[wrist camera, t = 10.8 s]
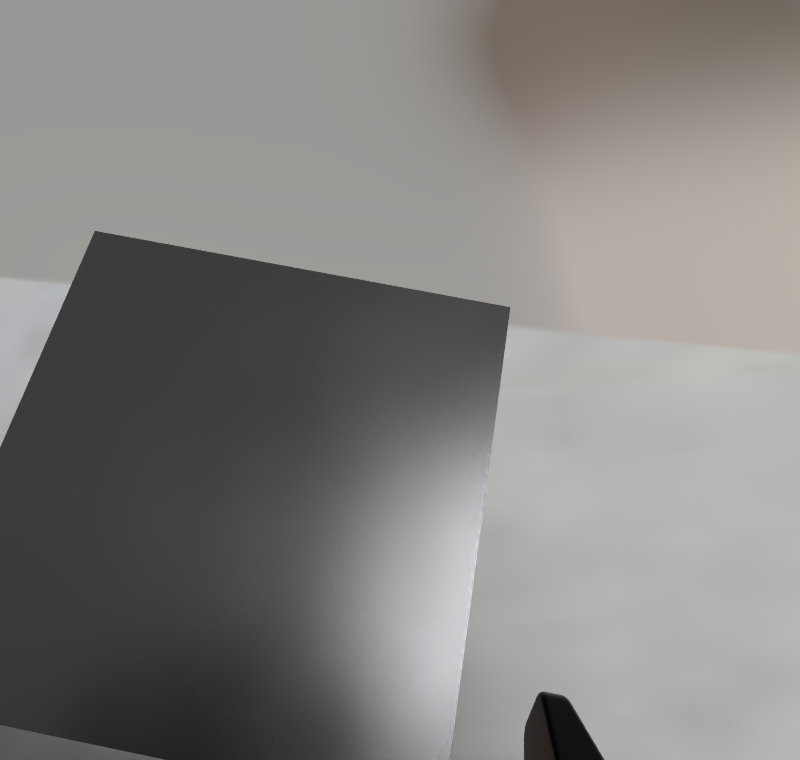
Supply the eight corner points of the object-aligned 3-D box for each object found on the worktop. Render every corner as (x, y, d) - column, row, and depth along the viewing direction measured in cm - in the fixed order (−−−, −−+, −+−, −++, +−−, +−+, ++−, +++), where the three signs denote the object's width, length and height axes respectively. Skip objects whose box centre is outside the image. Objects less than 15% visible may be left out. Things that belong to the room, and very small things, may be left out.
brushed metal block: (399, 646, 16) (441, 817, 5) (224, 611, 17) (-112, 701, 5) (428, 470, 18) (509, 307, 7) (270, 439, 18) (95, 231, 7)
